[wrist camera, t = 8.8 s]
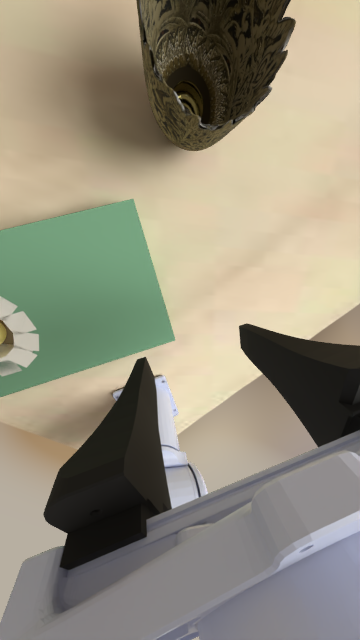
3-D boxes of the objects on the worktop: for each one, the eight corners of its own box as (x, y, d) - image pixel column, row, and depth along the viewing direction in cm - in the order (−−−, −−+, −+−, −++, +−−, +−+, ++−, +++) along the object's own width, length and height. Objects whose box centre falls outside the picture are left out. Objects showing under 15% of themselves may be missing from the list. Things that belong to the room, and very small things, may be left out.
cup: (137, 166, 15) (134, 95, 8) (136, 34, 12) (131, -282, 5) (214, 183, 16) (270, 137, 9) (230, 71, 14) (330, -119, 6)
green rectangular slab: (171, 328, 22) (175, 340, 20) (-1, 383, 20) (-22, 404, 18) (134, 206, 16) (133, 198, 13) (-122, 268, 14) (-183, 274, 11)
